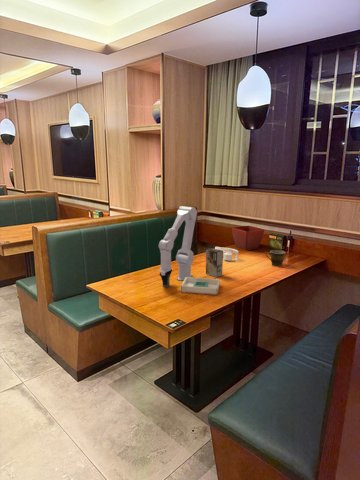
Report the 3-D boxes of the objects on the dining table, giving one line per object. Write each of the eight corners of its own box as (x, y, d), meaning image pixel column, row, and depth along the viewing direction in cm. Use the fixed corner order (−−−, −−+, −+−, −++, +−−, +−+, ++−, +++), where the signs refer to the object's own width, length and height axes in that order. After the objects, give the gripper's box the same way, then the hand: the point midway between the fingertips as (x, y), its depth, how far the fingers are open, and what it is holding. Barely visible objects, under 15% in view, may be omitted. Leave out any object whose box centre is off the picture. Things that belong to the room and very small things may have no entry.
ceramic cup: (282, 263, 238) (283, 250, 236) (285, 268, 228) (286, 254, 226) (263, 263, 239) (264, 249, 237) (265, 267, 230) (266, 253, 227)
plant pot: (263, 249, 277) (265, 229, 273) (246, 252, 267) (247, 231, 263) (247, 244, 292) (248, 225, 288) (230, 247, 282) (231, 227, 279)
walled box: (185, 282, 201) (185, 276, 200) (219, 285, 197) (219, 279, 197) (180, 291, 187) (180, 285, 186) (217, 294, 183) (217, 288, 182)
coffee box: (222, 274, 215) (223, 250, 211) (216, 277, 210) (217, 252, 206) (211, 271, 221) (212, 247, 217) (205, 274, 216) (205, 249, 213)
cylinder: (163, 284, 198) (163, 273, 196) (170, 285, 197) (170, 273, 195) (161, 287, 194) (161, 275, 192) (168, 287, 193) (168, 275, 192)
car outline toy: (210, 257, 254) (210, 247, 253) (220, 254, 261) (221, 245, 259) (229, 263, 239) (229, 253, 237) (240, 260, 245) (240, 251, 244)
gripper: (162, 256, 200) (162, 278, 203) (155, 263, 186) (156, 287, 189) (173, 257, 198) (173, 279, 201) (168, 264, 184) (168, 288, 188)
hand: (166, 283), depth 195 cm, fingers closed on cylinder, 4 cm apart
